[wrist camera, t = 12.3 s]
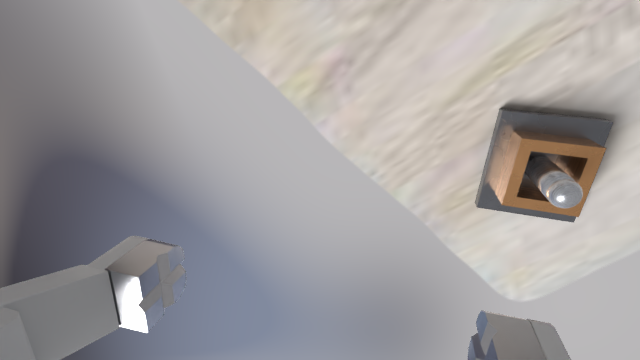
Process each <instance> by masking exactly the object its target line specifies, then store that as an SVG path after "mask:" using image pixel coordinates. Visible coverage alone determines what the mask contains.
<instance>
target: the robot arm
mask: <svg viewBox="0 0 640 360" xmlns="http://www.w3.org/2000/svg"><path fill="white" fill-rule="evenodd" d="M183 260H184V252H183V248H181V247H180V246H178V245H174V244H169V243H165V242H161V241H157V240H152V239H147V238H143V237H139V236H131V237H129V238H127V239H125V240H124V241H122V242H121V243H120V244H118V245H117V246H115V247H114V248H112V249H111V250H109V251H108V252H106V253H105V254H103V255H102V256H100V257H99V258H97V259H96V260H95V261H93V262H92V263H90V264H89V265H87V266H85V265H79V266H76V267H72V268H69V269H65V270H62V271H59V272H55V273H52V274H48V275H45V276H41V277H38V278H34V279H31V280H27V281H24V282H21V283H17V284H14V285H10V286H7V287H4V288H0V360H61V359H62V358H64V357H66V356H68V355H70V354H72V353H74V352H76V351H77V350H79V349H81V348H83V347H85V346H87V345H88V344H90V343H92V342H94V341H96V340H98V339H100V338H102V337H103V336H105V335H107V334H109V333H111V332H113V331H115V330H116V329H118V328H119V327H120V326H122V327H126V328H130V329H134V330H138V331H142V332H147V333H148V332H149V331H150V330H151V328H153V326H154V325H155V324H156V323H157V322H158V321H159V320H160V319H161V318H162V317H163V315H164V308H166V307H168V306H170V305H172V304H174V303H175V302H176V301H177V300H178V299H179V298H180V297H181V295H182V292H183V290H184V288H185V285H186V271H185V270H184V268H183V267H182V265H181V263H182V261H183ZM476 325H477V330H478V333H477V334H475V335H474V336H472V337H471V341H470V344H469V349H468V360H571V359H570V357H569V355H568V353H567V351H566V349H565V347H564V345H563V343H562V341H561V339H560V337H559V335H558V333H557V331H556V329H555V327H554V326H553V325H551V324H550V323H545V322H540V321H534V320H529V319H526V320H525V319H521V318H516V317H512V316H507V315H502V314H497V313H492V312H487V311H483V310H482V311H481V312H480V313H479V315H478V318H477V321H476Z"/></svg>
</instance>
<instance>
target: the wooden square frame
mask: <svg viewBox="0 0 640 360" xmlns="http://www.w3.org/2000/svg"><path fill="white" fill-rule="evenodd" d="M605 150H606V148H605V147H603V146H601V145H599V144H597V143H596V142H594V141H592V140H590V139H584V138H576V137H567V136H558V135H549V134H541V133H532V132H523V131H515V130H513V131H512V134H511V138H510V141H509V145H508V148H507V152H506V155H505V159H504V162H503V166H502V169H501V173H500V176H499V180H498V183H497V187H496V190H495V193H496V195H497V197H498V199H499V201H500V203H501V205H505V206H511V207H518V208H524V209H531V210H537V211H544V212H550V213H557V214H563V215H569V216H576V217H579V215H580V212H581V210H582V207H583V205H584V202H585V200H586V198H587V195H588V193H589V190H590V188H591V185H592V183H593V180H594V178H595V175H596V173H597V170H598V168H599V165H600V163H601V160H602V158H603V155H604V153H605ZM531 151H534V152H542V153H550V154H558V155H566V156H570V158H569V161H568V164H567V167H566V169H565V173H567V174H568V175H569V176H570V177H571V178H572V179H573V180H575V181H576V182H577V183H578V184H579V185H580V186H581V188H582V191H583V197H582V199H581V201H580V202H579V203H578V204H577V205H576V206H574V207H571V208H559V207H556V206H554V205H552V204H551V203H550V202H549V201H548V199H547V198H546V197H545V196H544V195H543V194H542V192H541V191H540V190H539V189H534V188H527V187H520V184H521V181H522V178H523V175H524V172H525V168H526V165H527V162H528V159H529V156H530V153H531Z"/></svg>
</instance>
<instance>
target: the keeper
mask: <svg viewBox="0 0 640 360" xmlns="http://www.w3.org/2000/svg"><path fill="white" fill-rule="evenodd" d="M612 124H613V122H611V121H609V120H606V119H597V118H587V117H577V116H567V115H557V114H547V113H537V112H527V111H517V110H508V109H499V113H498V117H497V120H496V124H495V128H494V132H493V136H492V140H491V143H490V147H489V151H488V155H487V159H486V162H485V166H484V170H483V174H482V178H481V182H480V185H479V189H478V193H477V197H476V201H475V204H476V206H477V207H478V208H485V209H491V210H497V211H504V212H510V213H517V214H523V215H530V216H536V217H543V218H549V219H555V220H562V221H568V222H574V221H575V218H576V216H569V215H563V214H557V213H550V212H544V211H537V210H531V209H524V208H518V207H511V206H505V205H501V203H500V201H499V199H498V197H497V195H496V193H495V190H496V187H497V183H498V180H499V176H500V173H501V169H502V166H503V162H504V159H505V155H506V152H507V148H508V145H509V141H510V138H511V134H512V131H513V130H515V131H523V132H532V133H541V134H549V135H558V136H567V137H576V138H584V139H590V140H592V141H594V142H596V143H597V144H599V145H601V146H603V147H604V144H605V142H606V139H607V137H608V134H609V132H610V129H611V127H612ZM569 158H570V156H566V155H558V154H550V153H542V152H534V151H531V153H530V156H529V159H528V162H527V165H526V168H525V172H524V175H523V178H522V181H521V184H520V187H527V188H534V189H539V190H540V191H541V192H542V194H543V195H544V196H545V197H546V198H547V199H548V201H549V202H550V203H551V204H552V205H554V206H556V207H559V208H571V207H574V206H576V205H577V204H578V203H579V202H580V201H581V199H582V197H583V191H582V188H581V186H580V185H579V184H578V183H577V182H576V181H575V180H573V179H572V178H571V177H570V176H569V175H568V174H567V173H565V169H566V167H567V164H568V161H569Z"/></svg>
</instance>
